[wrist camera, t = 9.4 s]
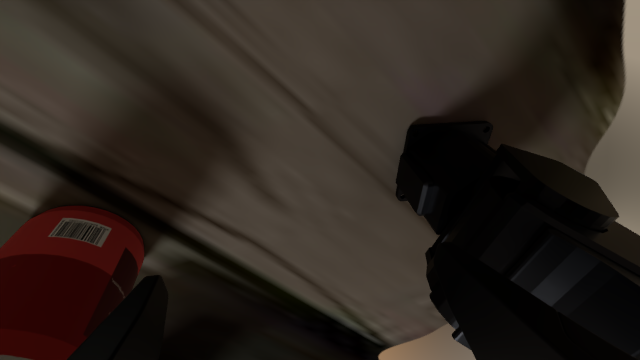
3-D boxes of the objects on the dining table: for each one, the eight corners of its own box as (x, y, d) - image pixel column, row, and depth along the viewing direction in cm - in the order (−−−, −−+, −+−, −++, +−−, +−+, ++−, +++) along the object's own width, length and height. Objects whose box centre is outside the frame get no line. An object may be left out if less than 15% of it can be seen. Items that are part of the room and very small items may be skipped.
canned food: (-4, 219, 21) (-206, 405, 12) (110, 188, 21) (-3, 348, 12) (71, 287, 25) (-34, 461, 16) (166, 261, 25) (114, 418, 16)
